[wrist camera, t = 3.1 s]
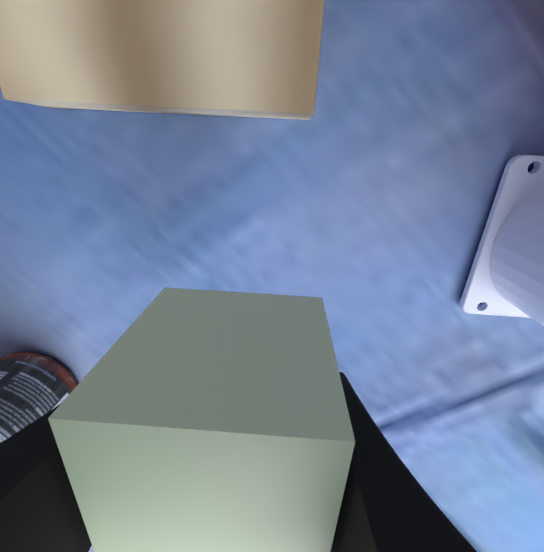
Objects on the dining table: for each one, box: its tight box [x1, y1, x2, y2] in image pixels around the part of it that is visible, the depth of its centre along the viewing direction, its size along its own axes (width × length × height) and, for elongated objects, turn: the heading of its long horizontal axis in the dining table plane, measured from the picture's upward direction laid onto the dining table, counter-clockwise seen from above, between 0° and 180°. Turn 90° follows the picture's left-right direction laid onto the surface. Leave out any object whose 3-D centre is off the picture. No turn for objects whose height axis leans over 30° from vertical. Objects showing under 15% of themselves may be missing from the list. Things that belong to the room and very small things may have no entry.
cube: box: [48, 288, 355, 552], centre depth 8 cm, size 5×5×5 cm
